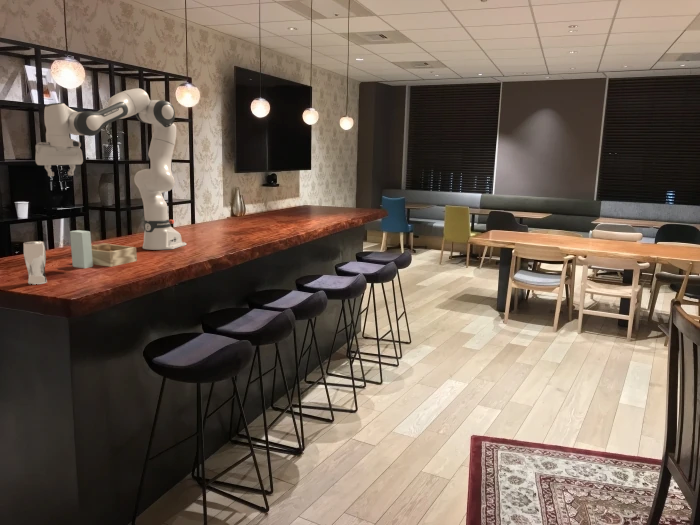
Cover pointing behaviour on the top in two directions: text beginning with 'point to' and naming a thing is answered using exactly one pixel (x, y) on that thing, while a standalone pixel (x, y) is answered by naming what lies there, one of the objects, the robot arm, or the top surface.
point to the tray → (114, 256)
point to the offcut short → (101, 247)
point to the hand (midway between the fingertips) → (61, 175)
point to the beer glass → (35, 261)
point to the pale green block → (81, 249)
